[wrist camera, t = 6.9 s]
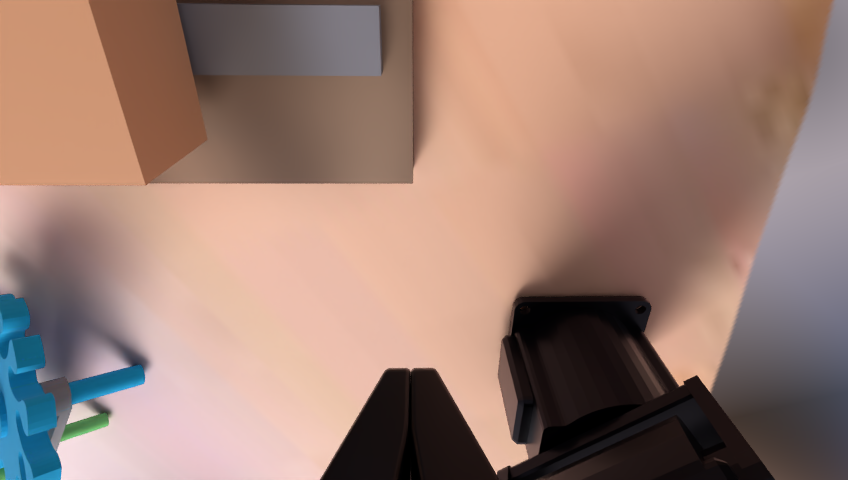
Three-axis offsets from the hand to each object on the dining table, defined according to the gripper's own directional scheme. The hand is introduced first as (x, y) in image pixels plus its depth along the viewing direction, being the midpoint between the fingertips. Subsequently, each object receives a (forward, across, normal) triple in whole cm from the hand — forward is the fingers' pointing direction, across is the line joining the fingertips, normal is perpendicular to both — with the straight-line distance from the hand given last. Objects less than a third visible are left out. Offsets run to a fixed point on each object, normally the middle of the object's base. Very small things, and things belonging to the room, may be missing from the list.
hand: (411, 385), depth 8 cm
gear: (+12, +17, +10) cm, 24 cm away
